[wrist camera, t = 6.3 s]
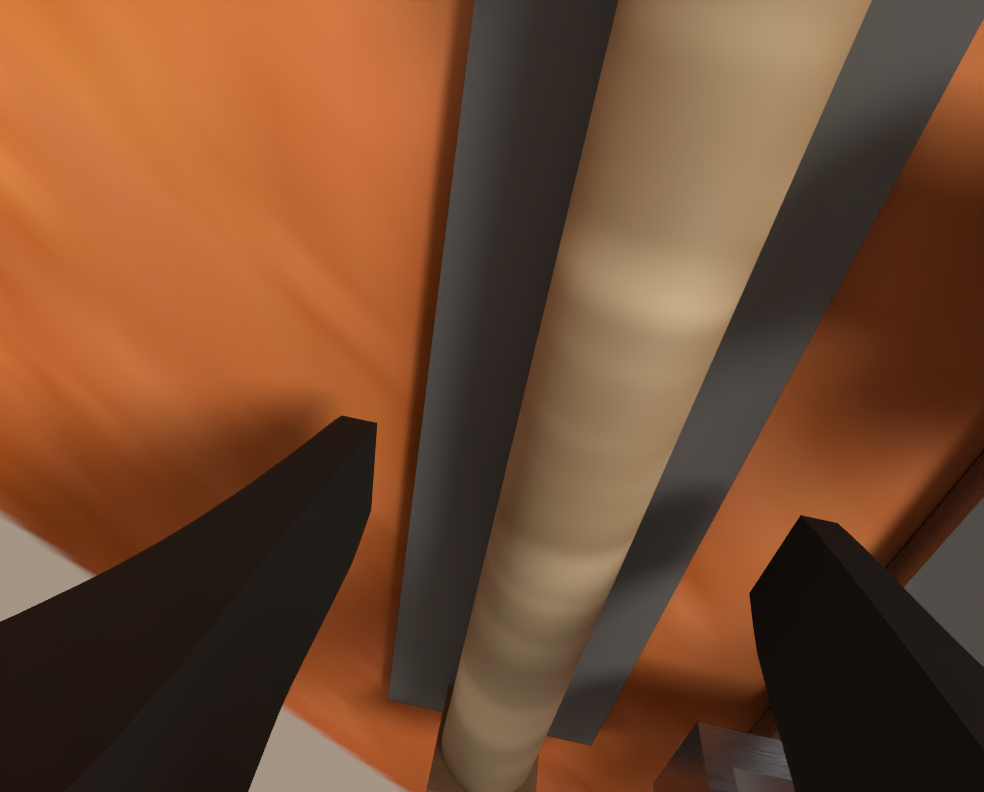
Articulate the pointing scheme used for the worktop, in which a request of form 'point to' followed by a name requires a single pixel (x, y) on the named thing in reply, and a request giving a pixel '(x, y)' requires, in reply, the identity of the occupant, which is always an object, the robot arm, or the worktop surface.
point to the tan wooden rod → (630, 336)
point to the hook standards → (926, 577)
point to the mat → (525, 285)
